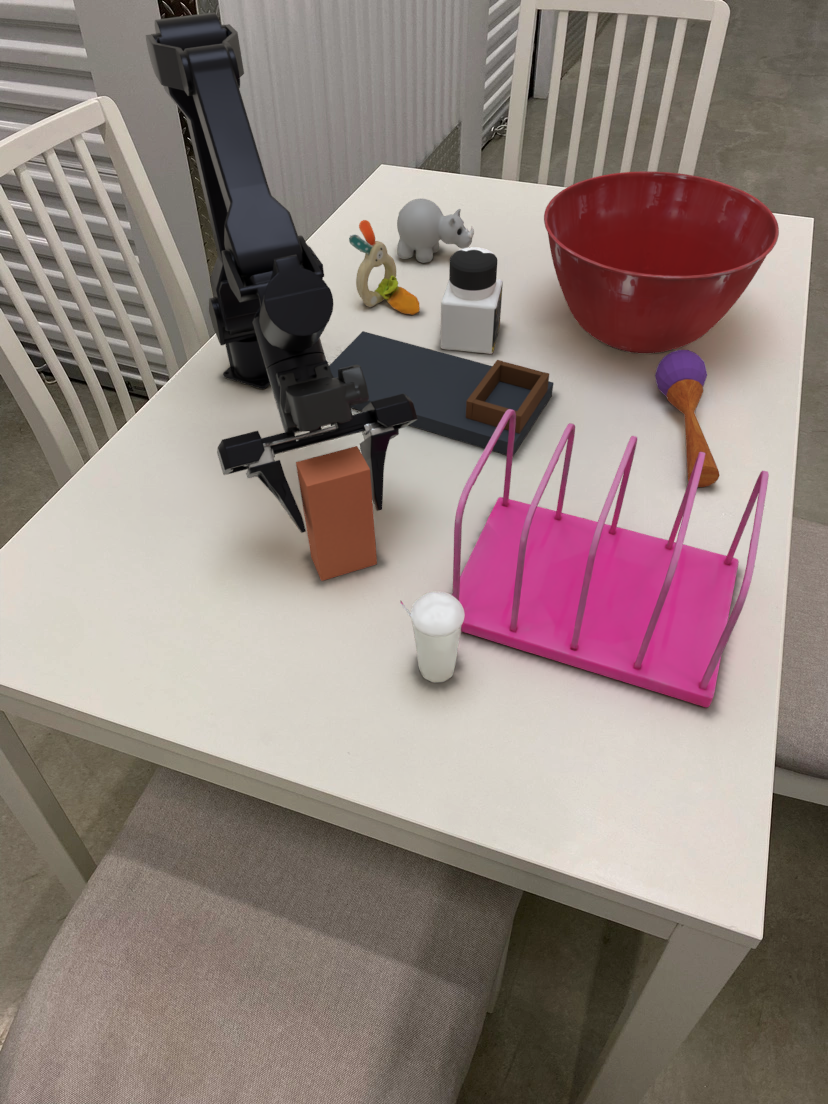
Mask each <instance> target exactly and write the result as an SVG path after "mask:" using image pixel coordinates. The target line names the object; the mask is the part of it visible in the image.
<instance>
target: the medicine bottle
mask: <svg viewBox="0 0 828 1104" xmlns="http://www.w3.org/2000/svg"><path fill="white" fill-rule="evenodd" d="M448 270H449V273H448V274H449V277H448V280H447V284H446V287H445V289H444V292H443V295H442V298H441V301H440V349H442V350H450V351H457V352H458V351H460V352H469V353H477V354H478V353H479V354H490V355H492V354H493V353H494V351H495V347H496V343H497V338H498V334H499V331H500V326H501V316H502V315H501V312H502V300H503V299H502V298H503V286H504V281H503V280H502V279H500V278H497V275H498V257H497V256H496V255H495V254H494V252H493V251H491V250H489V249H486V248H483V247H479V246H477V247H476V246H469V247H468V248H463V249H462V248H459V249H458V250H456V251H455V252H454V253H453V254H451V256H450V258H449V269H448Z"/></svg>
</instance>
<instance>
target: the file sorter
mask: <svg viewBox="0 0 828 1104" xmlns="http://www.w3.org/2000/svg"><path fill="white" fill-rule="evenodd" d="M509 419H510V422H509V436H508V447H507V455H506V459H505V469H504V481H503V495H502V496H499V497H497V499H496V501H495V503H494V505H493V507H492V510H491V511H490V513H489V516H488V517H487V520H486V522H485V524H484V526H483V528H482V530H481V532H480V534H479V536H478V538H477V540H476V543H475V545H474V546H473V549H472V551H471V553H470V556H469V558H468V559H467V562H466V563H465V566H464V568H463V570H462V572H461V560H462V533H463V532H462V531H463V530H462V529H463V519H464V513H465V508H466V504H467V501H468V499H469V496H470V494H471V490H472V488H473V486H475V483H476V482H477V479H478V477H479V476H480V474H481V472H482V470H483V468H484V466H485V465H486V464H487V461H488V459H489V458H490V455H491V453H492V452H493V451H492V450H493V447H494V445H495V444H496V442H497V440H498V438H499V437H500V435H501V433H502V431H503V429H504V428H505V426H506V424H507V422H508V420H509ZM515 425H516V413H515V411H514V410H511V409H508V410H507V411H506V412H505V414H504V415H503V417H502V419H501V421H500V422H499V424H498V426H497V428H496V430H495V431H494V433H493V435H492V437H491V439H490V440H489V442H488V444H487V446H486V448H483V449H484V450H483V451H482V453H481V455H480V457H479V458H478V461H477V462H476V464H475V465H474V467H473V469H472V472H471V473H470V475H469V477H468V478H467V481H466V482H465V485H464V487H463V489H462V490H461V494H460V497H459V499H458V503H457V507H456V511H455V516H454V524H453V525H454V526H453V563H452V564H453V565H452V593H451V595H452V596H454V597H455V598H456V599H457V600H458V601H459V602H460V603H461V605H462V607H463V609H464V615H465V616H464V622H463V626H462V631H461V633H466V634H468V635H472V636H475V637H479V638H482V639H485V640H488V641H490V642H495V643H498V644H501V645H504V646H508V647H510V648H513V649H517V650H520V651H522V652H527V653H529V654H534V655H536V656H540V657H541V658H542V657H543V658H546V659H548V660H552V661H555V662H559V663H562V664H565V665H569V666H572V667H574V668H577V669H581V670H584V671H587V672H591V673H594V674H597V675H600V676H604V677H607V678H610V679H614V680H617V681H620V682H623V683H626V684H630V685H633V686H636V687H639V688H642V689H645V690H648V691H652V692H656V693H659V694H661V695H665V696H668V697H672V698H675V699H678V700H681V701H685V702H686V703H691V704H694V705H697V706H699V707H703V708H709V707H710V706H711V704H712V702H713V699H714V696H715V693H716V692H715V691H716V687H717V686H716V685H717V680H718V675H719V670H720V664H721V659H722V655H723V652H724V651H725V648H726V646H727V644H728V642H729V640H730V638H731V635H732V633H733V631H734V628H735V626H736V624H737V622H738V620H739V617H740V615H741V613H742V611H743V608H744V605H745V602H746V600H747V597H748V594H749V589H750V588H751V583H752V579H753V576H754V575H753V574H754V571H755V570H754V569H755V563H756V559H757V553H758V549H759V547H758V546H759V541H760V534H761V528H762V521H763V515H764V509H765V502H766V497H767V491H768V484H769V476H770V475H769V471H768V470H761V471H760V473H759V475H758V476H757V479H756V481H755V484H754V486H753V489H752V491H751V494H750V496H749V498H748V502H747V504H746V506H745V509H744V512H743V514H742V516H741V519H740V521H739V524H738V527H737V529H736V532H735V534H734V536H733V540H732V542H731V544H730V546H729V550H728V553H727V554H726V555H725V554H723V553H718V552H714V551H711V550H706V549H703V548H698V547H695V546H692V545H687V544H684V542H685V538H686V534H687V530H688V526H689V523H690V519H691V515H692V510H693V506H694V503H695V498H696V495H697V491H698V488H699V487H698V483H699V479H700V475H701V471H702V467H703V463H704V458H705V453H704V452H699V454H698V457H697V459H696V462H695V465H694V468H693V471H692V474H691V476H690V479H689V482H688V481H687V482H688V483H687V486H686V488H685V492H684V494H683V497H682V500H681V503H680V505H679V508H678V511H677V515H676V517H675V520H674V523H673V526H672V529H671V532H670V535H669V537H668V539H666V538H665V539H664V538H661V537H657V536H654V535H649V534H647V533H642V532H638V531H635V530H630V529H627V528H623V527H619V526H618V523H619V519H620V515H621V511H622V507H623V503H624V498H625V494H626V492H627V491H626V490H627V486H628V482H629V477H630V474H631V470H632V465H633V461H634V457H635V453H636V448H637V444H638V436H636V435H630V438H629V440H628V442H627V445H626V447H625V450H624V452H623V455H622V457H621V459H620V463H619V465H618V467H617V470H616V473H615V475H614V478H613V481H612V483H611V486H610V488H609V491H608V493H607V495H606V499H605V502H604V504H603V507H602V509H601V512H600V514H599V518H598V520H592V519H588V518H584V517H581V516H577V515H573V514H568V513H565V512H563V507H564V502H565V495H566V490H567V488H566V487H567V483H568V477H569V471H570V466H571V460H572V453H573V447H574V443H575V435H576V425H575V424H574V423H571V422H569V423H567V425H566V427H565V429H564V430H563V433H562V435H561V437H560V438H559V441H558V443H557V445H556V447H555V450H554V452H553V454H552V456H551V458H550V460H549V463H548V465H547V467H546V469H545V472H544V474H543V476H542V478H541V480H540V483H539V484H538V487H537V489H536V491H535V493H534V495H533V498H532V500H531V502H530V503H526V502H524V501H523V502H522V501H518V500H515V499H510V491H511V479H512V470H513V469H512V468H513V457H514V456H513V448H514V437H515ZM565 446H566V447H565ZM564 448H566V449H565V454H564V461H563V467H562V474H561V479H560V485H559V492H558V499H557V505H556V510H553V509H550V508H546V507H542V506H538V505H539V503H540V501H541V499H542V497H543V495H544V493H545V490H546V489H547V486H548V484H549V481H550V479H551V476H552V475H553V473H554V471H555V470H554V469H555V468H556V466H557V464H558V462H559V460H560V457H561V454H562V452H563V450H564ZM618 489H619V490H618ZM617 491H618V494H617ZM616 494H617V499H616V502H615V508H614V512H613V516H612V521H611V523H610V524H609V523H608V524H607V523H606V521H607V517H608V516H609V513H610V510H611V507H612V504H613V502H614V499H615V497H616ZM755 504H756V507H755V512H754V519H753V525H752V531H751V536H750V541H749V547H748V553H747V559H746V564H745V569H744V574H743V578H742V583H741V586H740V590H739V593H738V596H737V599H736V600H735V604H734V607H733V608H732V610H731V605H732V600H733V594H734V591H735V590H734V589H735V586H736V585H735V584H736V579H737V574H738V568H739V563H740V561H739V559H738V558H736V557H734V556H735V554H736V551H737V548H738V546H739V543H740V541H741V538H742V536H743V534H744V530H745V528H746V526H747V524H748V521H749V518H750V516H751V514H752V511H753V509H754V506H755ZM676 537H677V538H676ZM675 540H676V541H675ZM730 610H731V614H730Z"/></svg>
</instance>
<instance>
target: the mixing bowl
mask: <svg viewBox="0 0 828 1104" xmlns="http://www.w3.org/2000/svg"><path fill="white" fill-rule="evenodd" d="M543 223H544V227H545V230H546V232H547V237H548V244H549V249H550V255H551V260H552V263H553V267H554V271H555V275H556V278H557V281H558V284H559V287H560V290H561V292H562V295H563V298H564V300H565V302H566V306H567V307H568V309H569V311H570V314H571V315H572V316H573V318H574V320H575V321H576V322H577V323H578V325H579V326H580V327H581V328H582V329H583V330H584V331H585V332H586V333H587V334H588V335H590V336H591V337H593V338H594V339H596V340H598V342H601V343H603V344H605V346H609V347H611V348H613V349H615V350H619V351H621V352H627V353H631V354H643V355H644V354H645V355H648V354H649V355H650V354H651V355H652V354H659V353H665V352H668V351H672V350H673V351H674V350H676V349H680V348H683V347H685V346H687V345H689V344H691V343H694V342H696V341H697V340H699V339H701V338H702V337H703V336H705V335H706V334H707V333H709V332H710V331H711V330H712V329H713V328H714V327H715V326H716V325H717V324H718V323H719V322H720V321H721V320H722V319H723V318H724V317H725V316H726V315H727V313H728V312H729V311H730V310H731V309H732V308H733V306H734V305H735V304H736V303H737V301H738V300H739V299H740V297H741V296H742V295H743V294H744V292H745V291H746V289H747V288H748V287H749V285H750V284H751V282H752V281H753V279H754V278H755V276H756V274H757V272H758V271H759V269H760V268H761V266H762V264H763V263H764V261H765V259H766V258H767V256H768V255H769V254H770V253H771V252H772V251H773V249H774V248H775V246H776V244H777V242H778V239H779V236H780V228H779V223H778V220H777V218H776V215H775V214H774V213H773V212H772V210H770V208H769V207H768V206H767V205H766V204H765V203H764V202H762V201H761V200H759V199H758V198H757V197H756V196H754V195H752V194H750V193H748V192H746V191H744V190H743V189H741V188H738V187H736V186H733V185H730V184H727V183H724V182H721V181H718V180H715V179H710V178H707V177H703V176H699V175H698V176H697V175H692V174H686V173H679V172H671V171H670V172H669V171H645V170H644V171H642V170H641V171H625V172H615V173H614V172H613V173H607V174H604V175H598V176H594V177H590V178H587V179H584V180H580V181H578V182H576V183H573V184H571V185H569V186H568V187H565V188H564V189H562V190H561V191H559V192H558V193H557V194H555V195H554V197H552V199H550V200H549V202H548V203H547V206H546V207H545V209H544V214H543Z"/></svg>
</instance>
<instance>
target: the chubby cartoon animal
mask: <svg viewBox="0 0 828 1104" xmlns="http://www.w3.org/2000/svg"><path fill="white" fill-rule="evenodd" d="M461 211H462V209H461V208H458V209H457V210H456V211H455V212H454V213H453V214H447V215H444V214H443V211H442V209H441V208H440V207H439V206H438V205H437V204H436V203H435V202H434V201H432V200H430V199H428V198H416V199H412V200H410V201H408V202H407V203H406V204H405V205H403V206H402V208H401V209H400V210H399V212H398V216H397V219H396V229H397V232H398V235H399V239H398V242H397V245H396V246H397V247H396V255H397V257H398V258H400V259H403V260H407V259H411V258H412V257H414V256H415V259H416V260H417V261H418V262H419V263H422V264H423V263H424V264H425V263H430V262H432V260H433V257H434V254H435V253H437V252H439V250H440V242H439V241H442V242H443V243H444V244H446V245H455V246H456V247H457V248H459V249H463V248H469V247H471V245H472V243H473V237H474V235H475V230H474V229H475V228H474V227H473V225H471V228H470V230H469V229H468V228H466V227H465V225H464V224H465V222H464V220H463V219H462V217H461ZM414 254H415V255H414Z"/></svg>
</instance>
